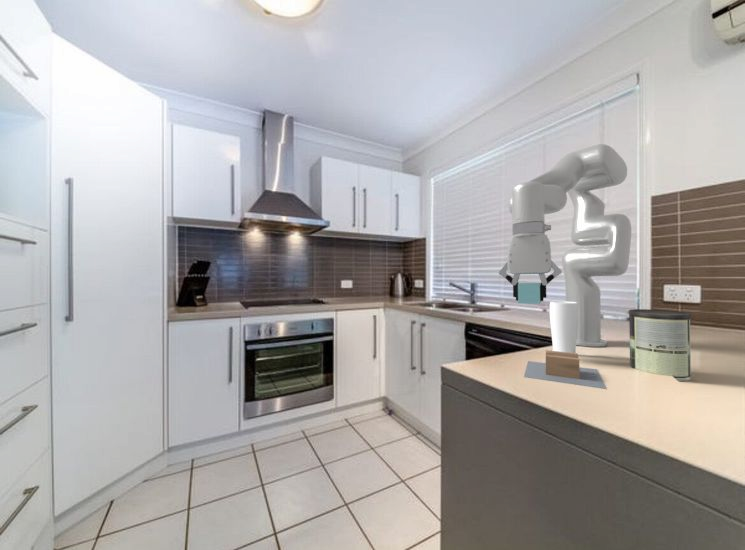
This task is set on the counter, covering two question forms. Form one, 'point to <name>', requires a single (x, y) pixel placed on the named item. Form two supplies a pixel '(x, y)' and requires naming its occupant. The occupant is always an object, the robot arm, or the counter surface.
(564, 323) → the white cup
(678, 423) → the counter surface
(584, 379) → the plate
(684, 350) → the coffee can
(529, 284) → the teal block
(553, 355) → the walnut base
